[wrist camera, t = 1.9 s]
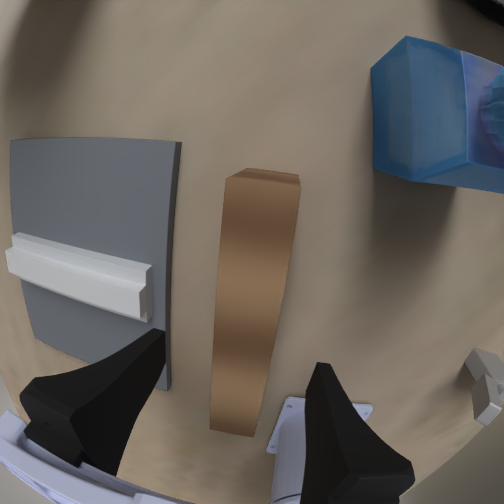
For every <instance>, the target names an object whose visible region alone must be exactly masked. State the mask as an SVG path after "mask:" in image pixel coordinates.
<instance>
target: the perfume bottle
mask: <svg viewBox="0 0 504 504" xmlns="http://www.w3.org/2000/svg"><path fill="white" fill-rule="evenodd" d="M371 80H372V100H373V168H374V169H377V170H380V171H383V172H386V173H389V174H392V175H395V176H398V177H401V178H403V179H406V180H409V181H413V182H423V183H432V184H441V185H449V186H457V187H464V188H471V189H478V190H484V191H491V192H497V193H503V194H504V67H503V66H501V65H499V64H496V63H494V62H492V61H489V60H487V59H484V58H481V57H479V56H476V55H473V54H470V53H467V52H464V51H461V50H458V49H455V48H452V47H449V46H445V45H442V44H438V43H434V42H431V41H427V40H423V39H418V38H414V37H409V36H405V37H404V38H403V39H402V40H401V41H400V42H398V43H397V44H396V45H395V46H394V47H393V48H392V49H391V50H390V51H389V52H388V53H386V54H385V55H384V56H383V57H382V58H381V59H380V60H379V61H378V62H377V63H376V64H375V65H374V66H373V67H371Z"/></svg>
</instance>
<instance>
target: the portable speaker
mask: <svg viewBox="0 0 504 504" xmlns="http://www.w3.org/2000/svg"><path fill="white" fill-rule="evenodd" d="M468 1H469V2H470V3H471V4H472V5H473V6H474V7H475V8H476V9H477V10H479V11H480V12H481V13H483V14H484V15H485V16H487V17H488V18H490V19H491V20H493V21H495V22H497V23H498V24H500V25H502V26H504V0H468Z"/></svg>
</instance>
